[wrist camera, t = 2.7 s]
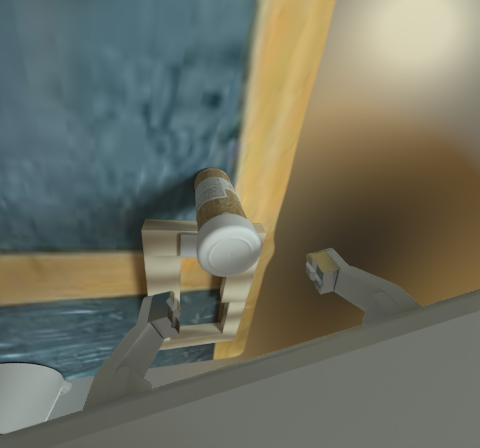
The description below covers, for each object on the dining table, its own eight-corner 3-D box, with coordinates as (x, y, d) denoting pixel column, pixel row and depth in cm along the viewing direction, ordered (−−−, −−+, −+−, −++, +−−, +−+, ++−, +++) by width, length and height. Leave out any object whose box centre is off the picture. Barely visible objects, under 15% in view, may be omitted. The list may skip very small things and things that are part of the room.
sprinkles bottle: (233, 194, 25) (267, 266, 14) (201, 205, 25) (210, 287, 14) (223, 161, 23) (255, 218, 12) (187, 173, 23) (185, 243, 12)
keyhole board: (232, 328, 43) (234, 342, 41) (155, 337, 39) (153, 354, 36) (261, 223, 29) (267, 235, 26) (145, 219, 24) (140, 232, 22)
